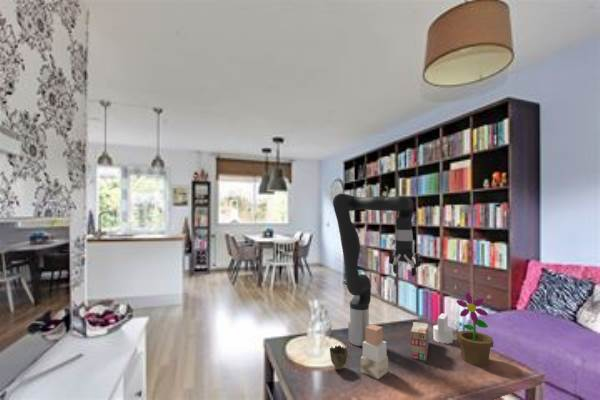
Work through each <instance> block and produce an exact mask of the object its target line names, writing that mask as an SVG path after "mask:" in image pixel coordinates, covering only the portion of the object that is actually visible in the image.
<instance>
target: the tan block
mask: <svg viewBox="0 0 600 400" xmlns="http://www.w3.org/2000/svg"><path fill="white" fill-rule="evenodd" d="M383 328H384V327H383V326H379V325H376V324H369V326H367V327H365V332H366V343H369V344H372V345H375V346H377V345H379V344H380V343H382V342H383V341H384V340H383V339H384V337H383V336H384V335H383Z"/></svg>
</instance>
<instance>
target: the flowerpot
mask: <svg viewBox="0 0 600 400" xmlns="http://www.w3.org/2000/svg"><path fill="white" fill-rule="evenodd" d="M465 299H466V301H464V300H462V299H457V300H455V301H456V304H457V305H458V306H459V307H463V308H464V309H463V310H461V311H460V313H459V314H460V315H459V316H460V317H466V316H468V315H469V314H470V317H471V320H472V324H464V325H463V326H462V327H463V328H465V329H467V330H460V331H457V333H456V340H457V342H459V345H460V353H461V359H462V360H463V361H464V362H465V363H467V364H469V365H472V366H475V367H485V366H487V365H489V362H490V361H489V359H490V352H491V348H492V347H494V339H493V337H491V336H490V335H488V334H485V333H482V332H479V331H476V328H477V327H476V326H478V327H479V328H484V329H485V328H489V325H488V324H487V323H486V322H485V321H484V320H482V319H479V317H478V315H480V316H484V317H486V316H488V314H489V313H488V312H487V311H486V310H485V309H483V308H481V307H480V306H481V305H482V304H483V303H484V301H485V299H484V298H477V299H476V300H475V301H474V300H473V297H472V295H471V294H470V293H469V292H466V293H465ZM473 301H474V302H473ZM477 307H479V308H477ZM470 312H471V313H470ZM477 314H478V315H477Z"/></svg>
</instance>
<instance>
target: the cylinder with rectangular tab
mask: <svg viewBox="0 0 600 400" xmlns="http://www.w3.org/2000/svg"><path fill="white" fill-rule="evenodd" d="M448 317H449V315H448V314H447V313H440V315H438V317H437V324H435V325H433V332H432V333H433V340H434V341H435V342H437V343H439V342H441V343H440V344H444V343H446V344H447V345H448V344H449V343H450V344H452V343H454V333H453V332H454V329H453V328H452V327H451V326H449V320H448V319H449V318H448ZM450 344H449V345H450Z"/></svg>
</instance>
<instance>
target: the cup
mask: <svg viewBox="0 0 600 400" xmlns="http://www.w3.org/2000/svg"><path fill="white" fill-rule="evenodd" d="M347 348H348V347H347ZM347 348H346V346H345V347H344V346H341V345H335V347H333V346H331V347H329V354H330V361H331V363H332V365H333V368H334V370H337V371H341V370H343V369H344V366H345V365H346V363H347V359H348V349H347Z"/></svg>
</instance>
